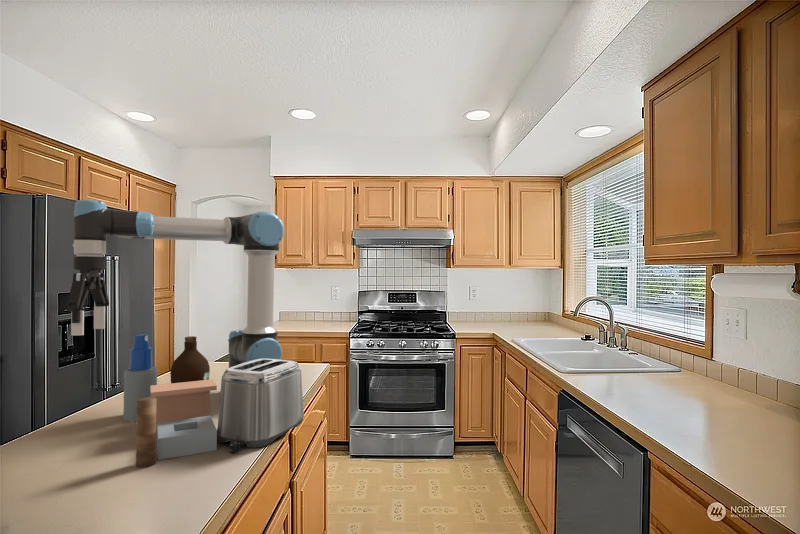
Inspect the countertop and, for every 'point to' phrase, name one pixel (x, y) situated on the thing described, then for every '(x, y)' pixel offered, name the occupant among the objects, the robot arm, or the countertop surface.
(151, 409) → the peg
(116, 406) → the countertop surface
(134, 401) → the spray bottle
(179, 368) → the olive oil
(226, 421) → the toaster
